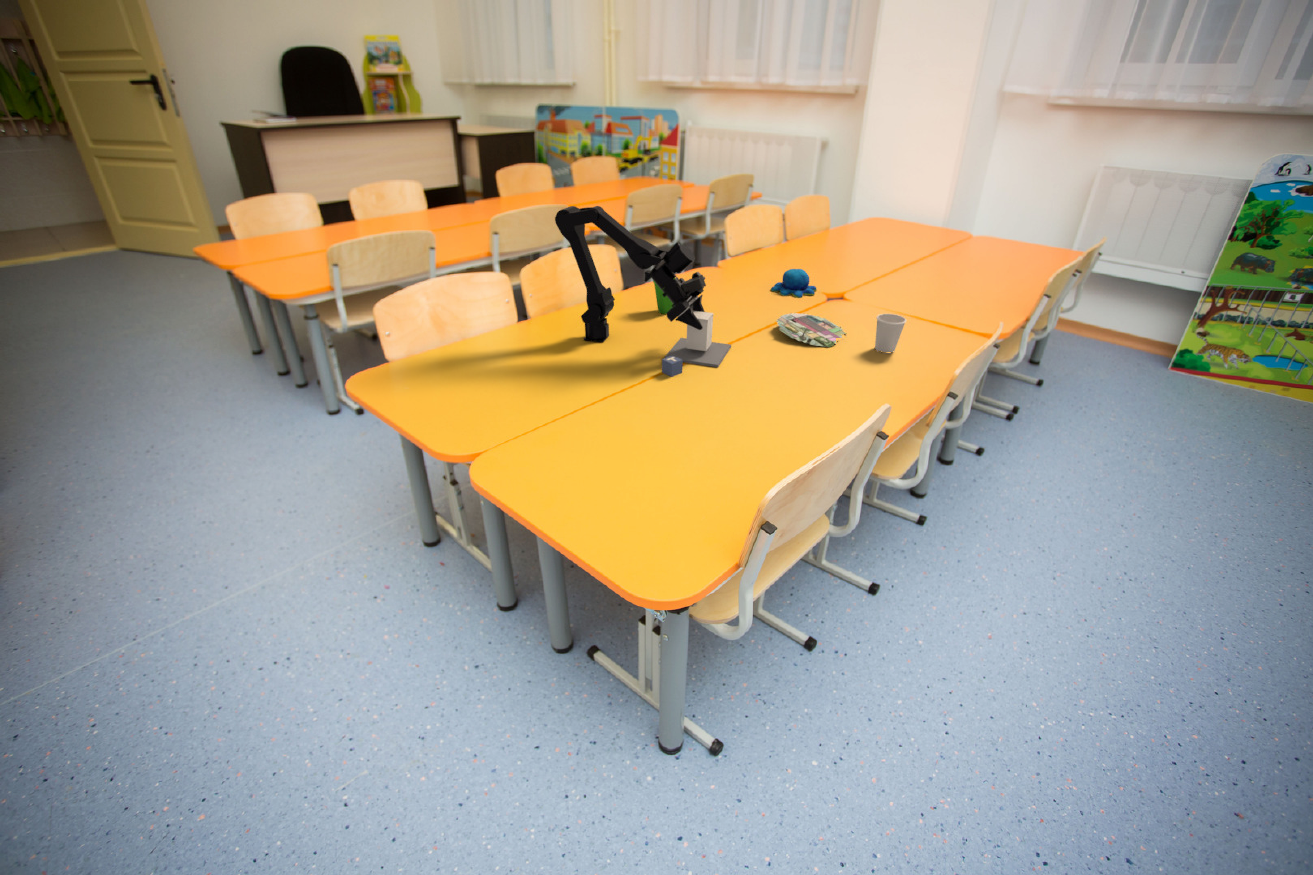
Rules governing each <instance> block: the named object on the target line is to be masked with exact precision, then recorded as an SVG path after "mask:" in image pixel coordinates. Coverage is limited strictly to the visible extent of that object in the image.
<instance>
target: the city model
mask: <svg viewBox="0 0 1313 875" xmlns="http://www.w3.org/2000/svg"><path fill="white" fill-rule="evenodd" d="M775 322H776V323H777V325H778V328H779V329H778V330H779V331H780V332H782V333H784V334H785V335H786V336H788V337H789V338H791V339H795V340H796V341H798V342H803V343H804V344H809V345H810V346H811V345H812V346H816V347H817V346H820V347H824V348H825V347H827V348H832V347H831V346H833V345H834V344H835V343H836V338H842V335H843V334H846V335H847V333H846V332H845V331H844V329H843V328H842V327H841V326H839V325H837V324H835V323H833V322H832V321H830V320H829V319H827V318H825V317H820V316H818V315H813V314H808V313H807V314H806V313H796V312H794V313H792V312H791V313H786V314H783V315H781V316H779V317H778V318H777V319H776V320H775ZM841 334H842V335H841ZM836 345H837V343H836V344H835V345H834V346H836ZM834 346H833V347H834Z"/></svg>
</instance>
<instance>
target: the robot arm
mask: <svg viewBox="0 0 1313 875" xmlns="http://www.w3.org/2000/svg"><path fill="white" fill-rule="evenodd" d="M554 221H555V225H556V227H557V229H558V231H559V232H560V234H561V235H562V236H563V237H564V239H566V241H567V242H568V243H569V246H570V248H571V251H572V253H573V257H574V259H575V261H576V264H577V267H578V269H579V273H580V275H581V278H582V280H583V283H584V286H585V288H586V297H585V299H586V300H585V302H586V306H587V310H586V311H584V313H582V314H581V315H580V317H581V320H582V323H584V338H583V341H586V342H587V341H588V342H596V343H604V342H605V341H606V340H607V339H608V338H609V337H610V324H609V323H608V318H607V317H608V316H609V314H610V312H611V311H613V308H614V306H615V302H614V301H615V300H616V299H615V297H614V296H613V295H614V294H613V292H612V288H611V287H607V288H606V287H605V286H604V284H602V282H601V279H600V276H599V273H598V270H597V268H596V265H595V262H594V259H593V256H592V253H591V250H590V248H589V245H588V243H587V242H588V241H587V239H586V237H585V236H586V234H585V232H586V225H587V224H593V225H595V226H596V227H597V228H598V229H599V230H601V231H602V232H603V233H604V234H606V235H607V236H608V237H609V238H610V239H612V241H614V242H615V243H617V244H618V245H619V246H620V247H621V248H622V249H624V251H625V252H626V253H627V256H628V258H629V259H630V260H631V262H633V263H634V265H635V267H637V268H638V269H641V270H646V271H645V272H644V282H645V283H647V282H648V281H650V280H651V279H652V282H653V281H654V282H655V283H656V284H657V285H658V286H659V288H660V289H661V290H662V291H663V292H664V293H663V294H662V295H663V297H665V296H667V297H668V298H669V300H670V301H671V302H672V303H673V305H672V308H671V309H670V310H669V311H668V312H667V314H666V318H667V319H668V320H669V321H670V322H671V323H672V322H673V321H674V320H675V321H676V322H680V323H683V324H685V325H686V326H687V325H690V326H692V327H694V328H696V329H698V330H701V329H702V328H703V327H702V325H701V324H700V322H699V321H698V319H697V318H696V316H695V315H694V313H693V311H701V312H706V311H705V309H704V306H703V303H702V298H703V294H702V293H704V291H705V290H704V288H705V287H706V286H707V284H706V282H705V280H706V277H705V276H704V275H703V274H701V273H700V272H699V271H696V272H694V273H692V275H691V278H689V279H687V280H685V279H684V278H683V277H680V278H679V276H677V275H676V274H681V273H682V272H683V271H685V270H686V269H687V268H688V267H689V266H690V265H692V263H694V261H695V260H696V257H695V255H694V253H693V251H692V250H691V248H689V247H688V246H686V245H684V244H682V243H681V241H680V240H678V241H677V242H676V243H675V244H674V245H673V246H672V247H671V248H670V249H669V250H668V251H667V250H663V249H659V248H658V247H657V246H655V245H654V244H653V243H651V242H649V241H647V240H645V239H643V238H640V237H637V236H636V235H634V234H633V233H631V232H630V230H628V229H627V228H626V227H624V226H623V225H622V224H621V223H620V222H618V221H617V220H616V219H615V218H613V216H611V215H610V214H609V213H607V212H606V210H604V208H603V207H601V206H600V205H596V206H592V207H591V206H589V207H588V206H587V207H580V208H579V207H577V206H575V205H571V206H568V207H565V208H562V209H560V210H558V211H557V212H556V214H555V216H554ZM663 261H664V262H663ZM662 262H663V263H662ZM661 263H662V264H661ZM660 264H661V265H660ZM652 266H653V268H651V267H652ZM650 268H651V269H650ZM647 269H648V270H647ZM649 269H650V270H649ZM674 278H675V279H674ZM654 282H653V283H654ZM664 287H665V288H664ZM663 288H664V289H663Z"/></svg>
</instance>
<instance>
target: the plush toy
mask: <svg viewBox="0 0 1313 875" xmlns="http://www.w3.org/2000/svg"><path fill="white" fill-rule="evenodd" d="M809 284H810V276H809V274H808V273H807V272H806V270H804V269H802V268H790V269H788V270H786V271H784V273H783V275H782V282H781V281H780V282H776V283H775V284H774V285H773V286H772V287H771V288H770V291H772V292H774V293H779V295H780V296H782V297H787V296H788V297H789V296H792V297H794V298H797V299H801V298H803V297H804V296H815V293H816V291H817V287H816V285H809ZM803 295H804V296H803Z"/></svg>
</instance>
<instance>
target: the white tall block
mask: <svg viewBox="0 0 1313 875" xmlns="http://www.w3.org/2000/svg"><path fill="white" fill-rule="evenodd" d="M693 313H694V315H695V316H696V318H697V319H698V321H699V322H700V324H701V325H702V327H703V328H702V329H701V330H698V329H696V328H694V327H692V326H690V325H687V324H686V338H687V340H686V348H688V349H694V350H701V351H706V350H707V349H708V348H709V346H710V345H711V342H713V341H712V337H713V322H714V312H707V311H705V312H701V311H693Z"/></svg>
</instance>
